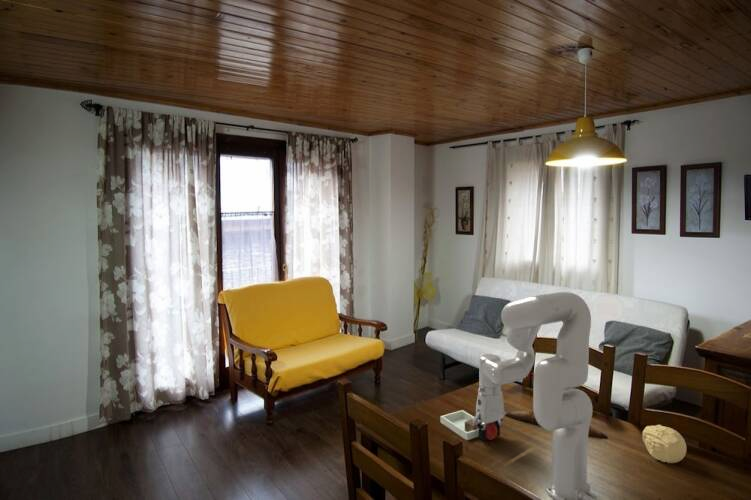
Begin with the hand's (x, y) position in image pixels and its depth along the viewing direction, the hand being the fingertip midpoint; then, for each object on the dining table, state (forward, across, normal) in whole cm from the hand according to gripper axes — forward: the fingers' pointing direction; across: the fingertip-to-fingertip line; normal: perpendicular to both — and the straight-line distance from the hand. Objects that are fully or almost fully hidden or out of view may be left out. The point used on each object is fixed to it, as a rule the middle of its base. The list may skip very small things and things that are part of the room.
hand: (489, 436), depth 166 cm
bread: (+2, +29, -4) cm, 29 cm away
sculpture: (+2, +43, -38) cm, 57 cm away
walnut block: (+1, -2, +6) cm, 7 cm away
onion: (+2, 0, 0) cm, 2 cm away
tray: (+2, -2, +11) cm, 11 cm away
